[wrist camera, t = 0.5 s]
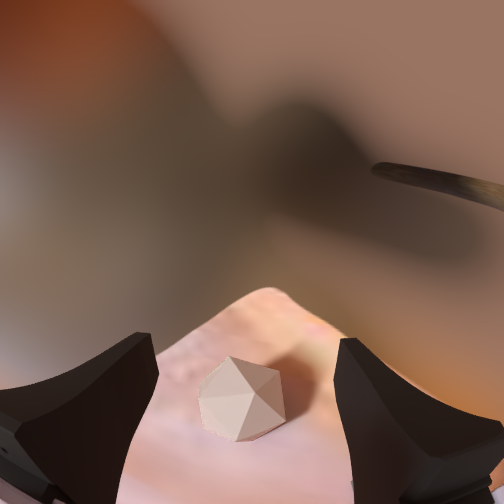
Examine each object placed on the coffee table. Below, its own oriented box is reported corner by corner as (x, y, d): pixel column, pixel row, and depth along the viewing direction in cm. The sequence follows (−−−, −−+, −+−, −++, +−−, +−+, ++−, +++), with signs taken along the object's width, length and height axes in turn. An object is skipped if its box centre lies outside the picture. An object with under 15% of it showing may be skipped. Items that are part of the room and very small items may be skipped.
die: (309, 428, 26) (291, 342, 27) (247, 473, 20) (218, 375, 21) (254, 416, 32) (235, 342, 33) (195, 448, 26) (169, 366, 27)
